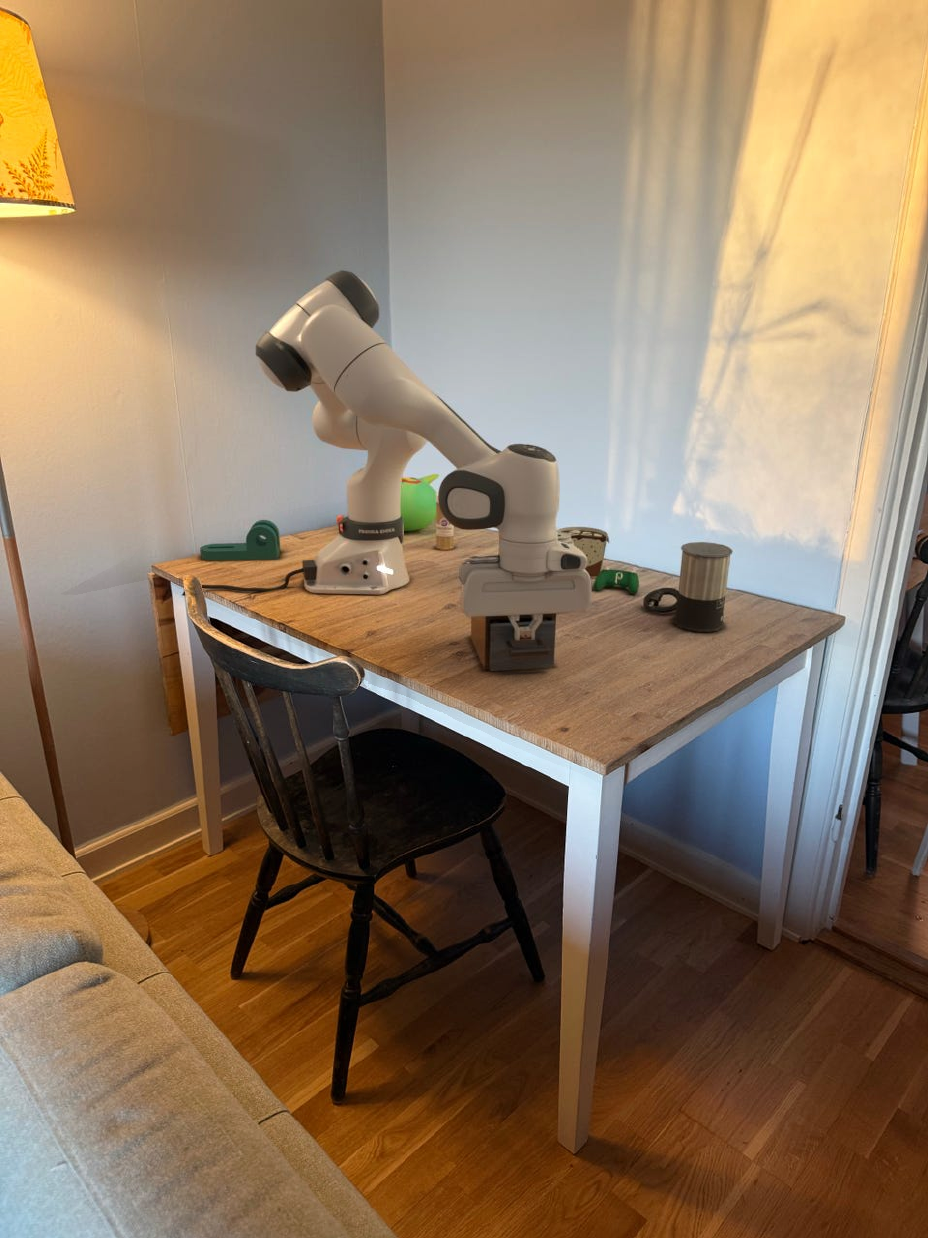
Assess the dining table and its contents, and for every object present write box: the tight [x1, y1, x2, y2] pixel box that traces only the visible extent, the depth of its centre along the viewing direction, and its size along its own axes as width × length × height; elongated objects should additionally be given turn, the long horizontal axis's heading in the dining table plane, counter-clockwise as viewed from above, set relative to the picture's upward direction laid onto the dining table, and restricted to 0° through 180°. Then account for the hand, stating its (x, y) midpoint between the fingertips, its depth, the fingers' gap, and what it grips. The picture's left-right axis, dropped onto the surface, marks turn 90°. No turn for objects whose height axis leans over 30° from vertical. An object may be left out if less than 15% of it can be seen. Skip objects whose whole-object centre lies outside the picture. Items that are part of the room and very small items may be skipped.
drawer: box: [489, 618, 557, 672], centre depth 136 cm, size 18×10×8 cm, turn 8°
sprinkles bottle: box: [435, 492, 455, 551], centre depth 201 cm, size 5×5×14 cm
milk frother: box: [643, 541, 733, 633], centre depth 156 cm, size 14×16×15 cm
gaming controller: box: [593, 565, 640, 595], centre depth 174 cm, size 9×4×6 cm
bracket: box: [199, 519, 281, 562], centre depth 194 cm, size 18×7×8 cm, turn 95°
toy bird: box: [400, 473, 440, 532], centre depth 217 cm, size 18×17×15 cm
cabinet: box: [470, 613, 557, 672], centre depth 141 cm, size 15×12×10 cm
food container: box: [557, 526, 610, 579], centre depth 183 cm, size 12×6×10 cm, turn 84°
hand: (524, 639), depth 130 cm, fingers closed
